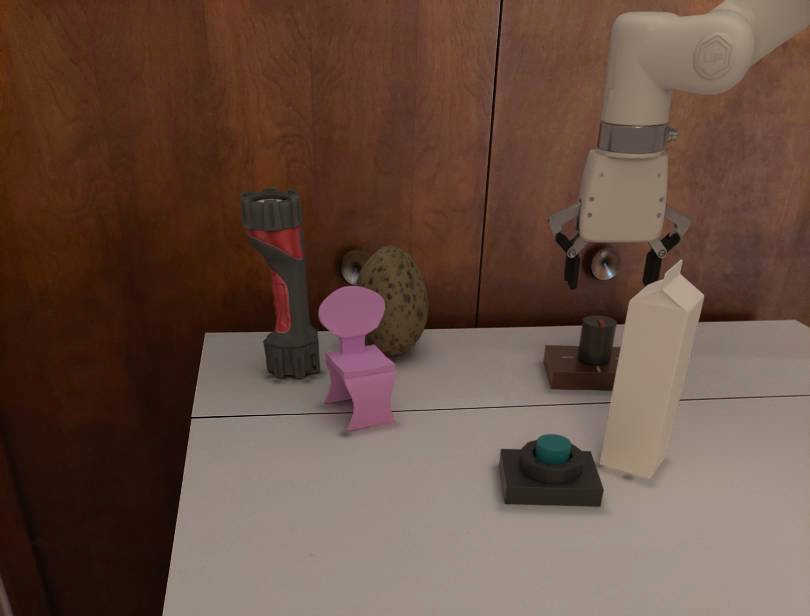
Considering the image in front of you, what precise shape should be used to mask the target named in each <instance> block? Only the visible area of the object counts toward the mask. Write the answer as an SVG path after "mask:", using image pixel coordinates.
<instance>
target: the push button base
mask: <svg viewBox="0 0 810 616" xmlns="http://www.w3.org/2000/svg"><path fill="white" fill-rule="evenodd" d="M536 443H537V439H534V440H530V441H527V442H526V443H525V444H524V445H523V446H521V448H500V452H499V462H498V468H499V475H500V481H501V482H500V483H501V487H502V495H503V501H504V505H514V506H515V505H517V506H518V505H520V506H552V507H553V506H554V507H555V506H556V507H592V508H593V507H594V508H601V506H602V501H603V496H604V490H605V489H604V486H603V483H602V479H601V477H600V474H599V472H598V471H599V470H598V468H597V465H596V462H595V460H594V457H593V456H594V455H593V453H592V451H591V450H582V449H580V448H579V447H578V446H576V445H575V444H574V443H571V451H570V457H569V460H568V461H567V462H564V463H561V464H551V463H546V462H543V461H540V460H538V459H537V458H536V457H535V451H536Z"/></svg>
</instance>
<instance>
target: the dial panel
mask: <svg viewBox="0 0 810 616" xmlns="http://www.w3.org/2000/svg"><path fill="white" fill-rule="evenodd" d="M578 349H579V345H560V344H559V345H556V344H545V346H544V354H543V361H542V362H543V365H544V368H545V372H546V375H547V378H548V382H549V385H550V388H551V390H583V391H584V390H586V391H590V390H591V391H613V386H614V381H615V376H616V370H617V365H618V359H619V354H620V349H621V346H613V347H612V353H611V359H610V361H609V362H608V363H606V364H602V365H592V364H587V363H584V362H582V361H580V360H579V359H578V357H577V355H578Z"/></svg>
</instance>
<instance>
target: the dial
mask: <svg viewBox="0 0 810 616" xmlns="http://www.w3.org/2000/svg"><path fill="white" fill-rule="evenodd" d="M617 324H618V323H617V321H616V319H614V318H611V317H609V316H604V315H588V316H585V317H584V318H583V319H582V323H581V329H580V330H581V331H580V337H579V344H578V346H579V349H578V355H577V357H578V359H579V360H580V361H582V362H584V363H587V364H592V365H602V364H606V363H608V362H609V361H610V359H611V353H612V347H614V341H615V336H616V330H617Z"/></svg>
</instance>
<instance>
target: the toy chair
mask: <svg viewBox="0 0 810 616" xmlns="http://www.w3.org/2000/svg"><path fill="white" fill-rule="evenodd" d="M384 311H385V302H384V299H383V298H382V296H380V295H379V294H378V293H376V292H374V291H372V290H369V289H367V288H364V287H359V286H355V285H347V286H342V287H340V288H338V289H336V290H334V291H333V292H331V293H330V294H329V295H328V296H327V297H326V298H325V299H324V300H322V303H320V305H319V308H318V313H317V315H318V320H319V323H320V324H321V325H322V326H323V327H324V328H325V329H326V330H328V331H329V332H330V333H331V335H333V336H336V337H338V338H339V339H338V340H339V350H332V351H326V352H325V359H324V362H325V366H326V368H327V370H328V373H329V376H330V384H329V388H328V391H327V393H326V396H325V397H324V400H323V403H324V404H333V403H337V402H342V401H347V400H351V401H352V406H353V409H352V415H351V417H350V420H349V422H348V424H347V426H346V429H345V431H346V432H350V431H351V432H352V431H356V430H361V429H366V428H370V427H375V426H381V425H385V424H390V423H391V424H392V423H395V422H396V420H395V418H394V414H393V412H392V404H391V403H392V402H391V400H392V395H393V390H394V387H395V385H396V384H395V383H396V381H397V374H396V364H395V363H394V361H392V360H391V359H390V358H388V356H385V355H384V354H383V353H382V352H381V351H380V350H379V349H378V348H377V347H376V346H375V345H370V346H365V335H366V334H368V333H369V332H371V331H373V330H374V329H376V328H377V327H378V325H379V323H380V321H381V319H382V317H383V314H384Z"/></svg>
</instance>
